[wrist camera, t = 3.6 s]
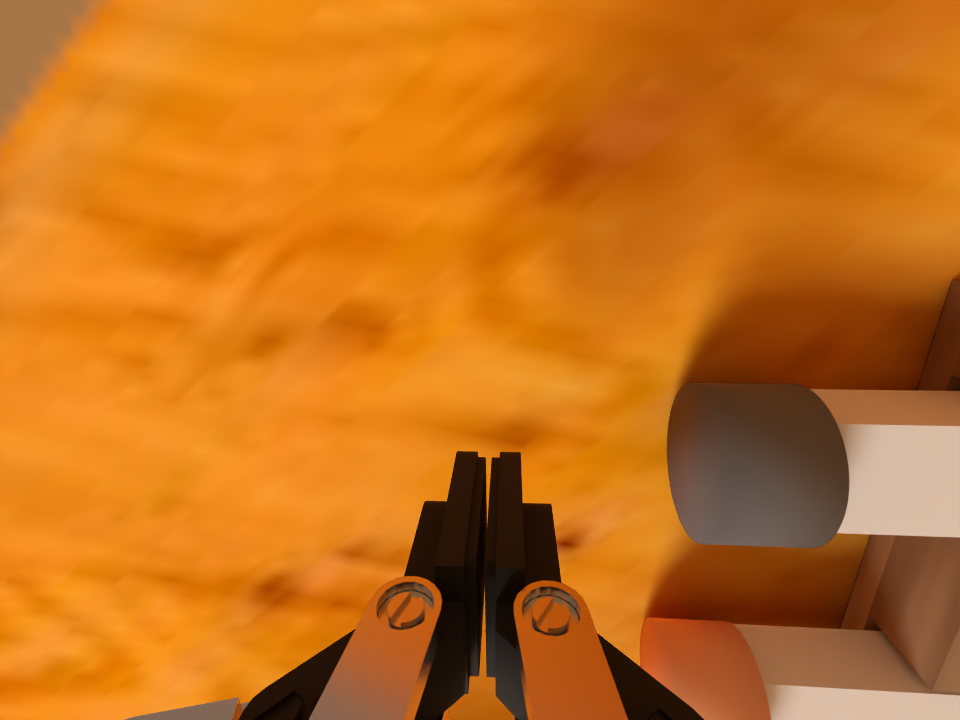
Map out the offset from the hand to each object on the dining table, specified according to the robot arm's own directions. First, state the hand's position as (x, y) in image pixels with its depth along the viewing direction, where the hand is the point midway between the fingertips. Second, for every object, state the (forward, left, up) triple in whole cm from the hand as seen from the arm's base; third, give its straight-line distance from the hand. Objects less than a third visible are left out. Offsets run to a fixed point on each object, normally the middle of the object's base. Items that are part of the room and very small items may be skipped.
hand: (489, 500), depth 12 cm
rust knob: (-13, +10, -5) cm, 17 cm away
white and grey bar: (-13, 0, -5) cm, 14 cm away
